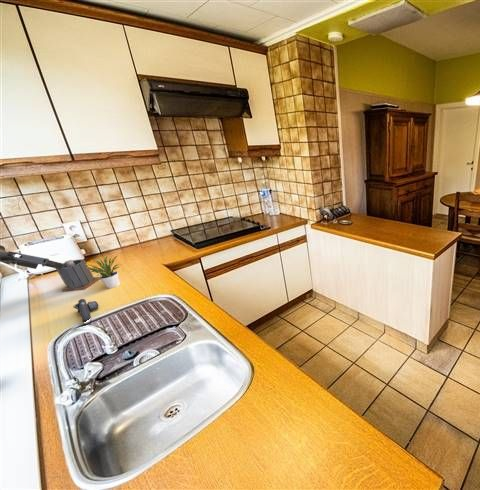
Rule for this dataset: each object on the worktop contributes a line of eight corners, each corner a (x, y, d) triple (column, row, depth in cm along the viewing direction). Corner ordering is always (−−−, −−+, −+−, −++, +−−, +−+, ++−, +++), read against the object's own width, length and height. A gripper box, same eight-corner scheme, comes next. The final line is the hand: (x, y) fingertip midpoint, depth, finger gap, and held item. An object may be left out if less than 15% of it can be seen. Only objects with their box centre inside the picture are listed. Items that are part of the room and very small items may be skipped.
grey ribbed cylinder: (61, 289, 131) (49, 269, 127) (78, 279, 140) (67, 260, 136) (83, 286, 132) (72, 267, 128) (99, 276, 141) (89, 258, 137)
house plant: (127, 274, 145) (114, 247, 138) (138, 280, 138) (125, 252, 132) (93, 287, 134) (77, 258, 127) (103, 294, 127) (87, 264, 121)
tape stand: (62, 291, 132) (47, 267, 126) (79, 281, 141) (66, 257, 135) (85, 289, 133) (71, 264, 127) (100, 279, 142) (88, 255, 136)
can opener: (77, 310, 116) (71, 300, 114) (99, 303, 120) (93, 293, 118) (76, 329, 104) (69, 318, 102) (100, 321, 109) (93, 310, 106)
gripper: (-49, 259, 104) (22, 273, 124) (4, 260, 102) (68, 274, 121) (-37, 242, 107) (30, 258, 127) (14, 242, 104) (75, 258, 124)
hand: (49, 266), depth 124 cm, fingers open, 13 cm apart
